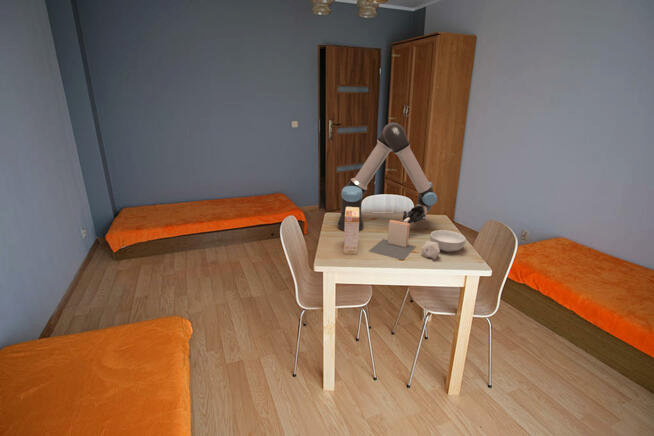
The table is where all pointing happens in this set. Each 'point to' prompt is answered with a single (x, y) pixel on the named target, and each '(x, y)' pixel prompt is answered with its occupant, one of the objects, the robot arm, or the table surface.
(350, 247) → the coffeecake box
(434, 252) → the die
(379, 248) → the mat
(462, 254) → the table surface
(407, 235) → the salmon orange block
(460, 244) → the cereal bowl
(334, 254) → the table surface
